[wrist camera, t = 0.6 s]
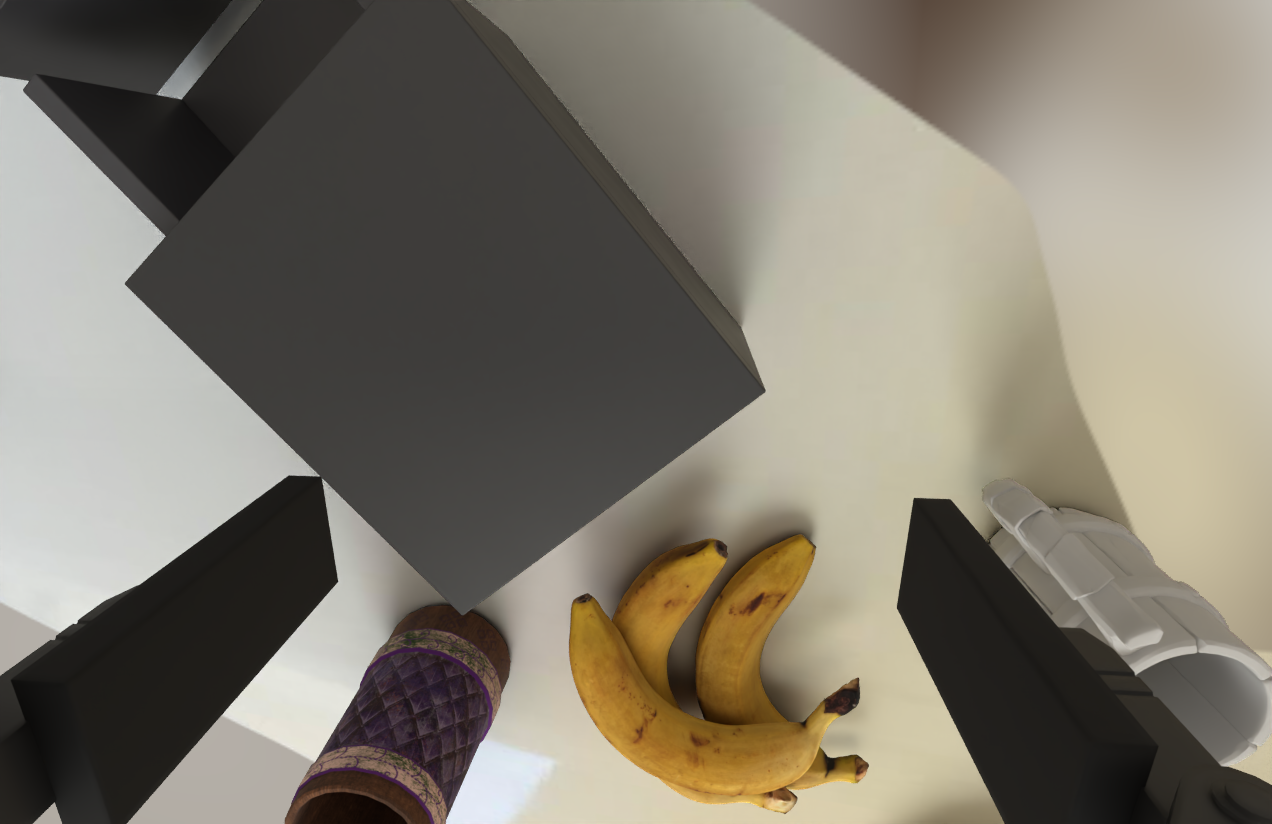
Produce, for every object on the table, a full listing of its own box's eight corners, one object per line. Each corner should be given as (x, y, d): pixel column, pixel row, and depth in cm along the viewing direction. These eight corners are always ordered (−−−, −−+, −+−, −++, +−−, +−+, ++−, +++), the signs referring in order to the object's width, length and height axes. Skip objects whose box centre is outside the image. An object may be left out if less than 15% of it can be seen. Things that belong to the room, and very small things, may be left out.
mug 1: (385, 595, 37) (251, 775, 26) (512, 605, 37) (433, 793, 25) (399, 741, 40) (285, 958, 29) (515, 751, 40) (446, 976, 28)
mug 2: (1018, 658, 35) (1175, 881, 24) (894, 496, 33) (1002, 657, 22) (1159, 584, 33) (1403, 788, 22) (1038, 405, 31) (1240, 530, 20)
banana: (794, 812, 40) (810, 910, 34) (518, 656, 38) (489, 734, 32) (970, 634, 35) (1022, 715, 30) (666, 445, 33) (661, 495, 28)
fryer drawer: (46, -10, 28) (-198, -85, 20) (234, -277, 24) (29, -488, 17) (377, 341, 31) (278, 389, 24) (579, 151, 28) (539, 137, 20)
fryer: (293, 255, 31) (123, 283, 22) (507, 34, 28) (412, -46, 18) (524, 499, 34) (462, 616, 25) (742, 329, 31) (766, 392, 21)
